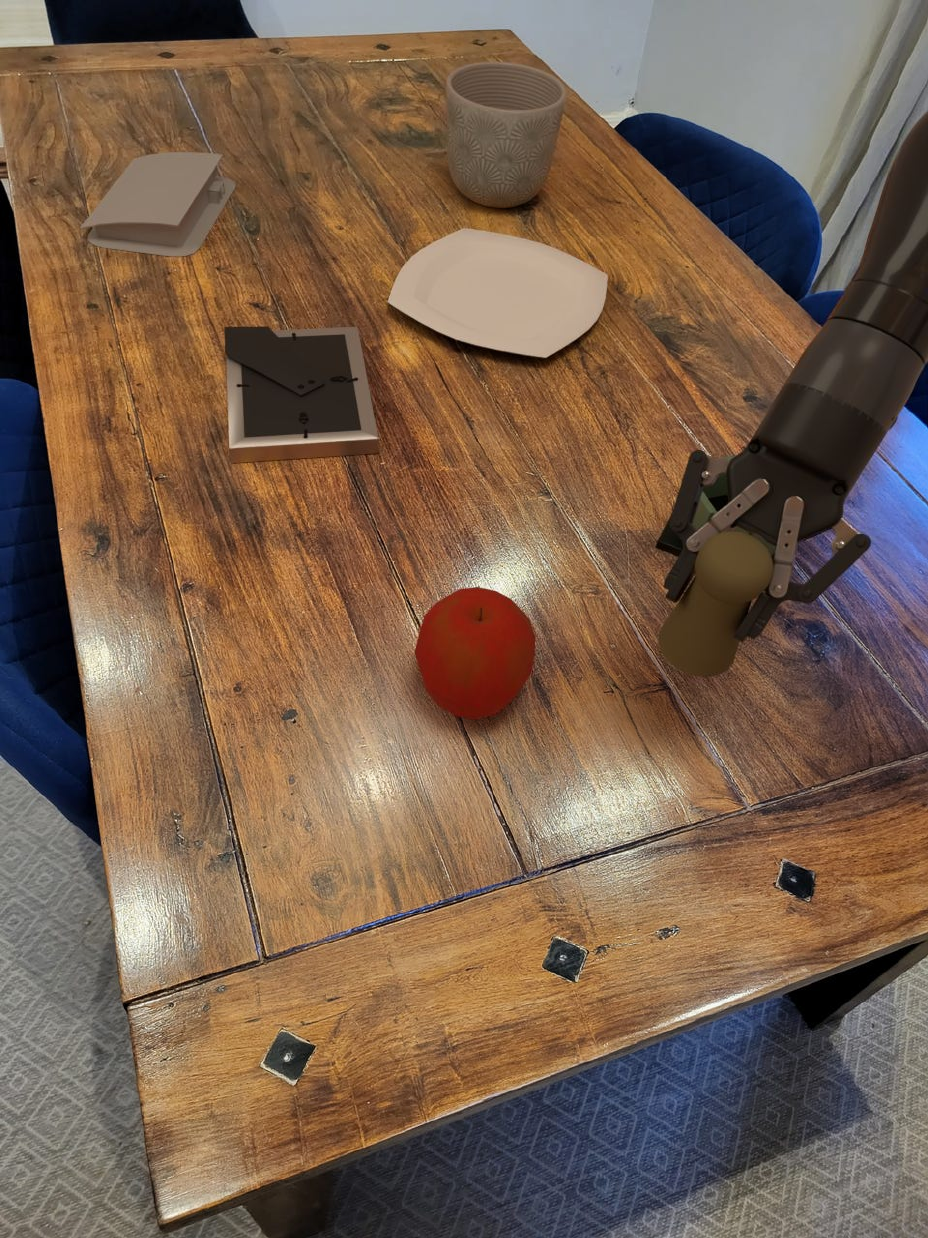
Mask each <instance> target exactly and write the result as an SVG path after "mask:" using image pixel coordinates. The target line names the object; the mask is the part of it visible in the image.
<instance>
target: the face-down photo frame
mask: <svg viewBox="0 0 928 1238" xmlns="http://www.w3.org/2000/svg"><path fill="white" fill-rule="evenodd" d="M224 353H225V363H226V364H225V365H226V366H225V368H226V369H225V370H226V396H227V397H226V398H227V427H228V428H227V429H228V450H229V456H230V461H231V464H242V463H255V462H258V463H259V462H271V461H272V462H273V461H285V460H299V459H301V460H303V459H314V458H315V459H317V458H331V457H344V456H345V457H346V456H358V455H359V456H361V455H373V454H380V438H379V433H378V428H377V421H376V417H375V411H374V406H373V403H372V402H373V401H372V395H371V390H370V385H369V379H368V375H367V368H366V364H365V358H364V353H363V348H362V343H361V337H360V332H359V326H342V327H341V326H340V327H318V328H299V329H298V328H297V329H274V330H273V329H271V328H270V327H269V326H267V325H265V326H263V325H259V326H258V325H257V326H255V325H254V326H224Z"/></svg>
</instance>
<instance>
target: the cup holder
mask: <svg viewBox="0 0 928 1238" xmlns="http://www.w3.org/2000/svg"><path fill="white" fill-rule="evenodd" d="M736 455H737V454H736ZM736 455H731V456H730V455H729V456H723V457H720V458H721V459H725V460H731V459H732V458H733V457H734V456H736ZM728 503H729V501H728V490H727V479H726V475H721V476H719V477H718V478H717V479H716V481H715V483H714V484H713V485H711V486H704V488H703V491H702V494H701V498H700V501H699V504H698V507H697V510H696V514H695V517H694V520H693V523H692V525H693V526H694V528H695V529H696V530H699V529H700V528H701V527H702V526H703V525H705V524H706V523H707V522H708V521H709V520H710V518H711V517H712V516H714V515H715V514H716V513H717V512H718V511H720V510H721V509H722V508H723V507H724V506H726V505H727V504H728ZM671 515H672V513H671V514H670V516H669V518H668V520H667V522H666V524H665V526H664V528H663V529H662V532H661V534H660V536H659V537H658V539H657V542H656V545H655V548H657V549H660V550H662V551H664V552H667V553H670V554H672V555H675V556H677V557H679V555H680V553H681V552H682V550H683V543H682V540H681V539H680V538H679V537H678V536H677V534H676V533H675V532H674V531H673V530H672V529H671V528H670V526H669V522H670V518H671ZM733 531H736V532H742V533H745V534H748V535H751V536H753V537H754V538H756V539H758V540H760V541H761V542H762V543H763V544H764V545H765V546H766V547H767V549H768V551H769V553H770V554H771V557H772V561H773V564H774V557H775V552H776V547H775V546H774V545H772V544H770V543H768V542H767V541H766V540H765V539H764V538H762V537H761V536H760V535H759V534H755V533H751V532H747V531H745V530H744V529H742V528H740V527H737V528H735V529H734V530H733ZM769 584H770V583H769ZM768 586H769V585H768ZM768 586H767V588H768ZM767 588H766V589H767ZM766 589H765V590H764V591H763V592H765V591H766Z"/></svg>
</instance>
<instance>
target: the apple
mask: <svg viewBox="0 0 928 1238" xmlns="http://www.w3.org/2000/svg"><path fill="white" fill-rule="evenodd" d="M414 648H415V649H414V652H413V653H414V656H415V659H416V663H417V666H418V669H419V673H420V677H421V680H422V683H423V687H424V689H425V692H426V694H427V695H428V696H429V697H430V698H431V699H432V701H433V702H434V703H435V704H436V705H437V707H439V708H440V709H442V710H444V711H446V712H447V713H449V714H451V715H452V716H454V717H458V718H464V719H469V720H473V721H475V720H478V719H482V718H486V717H490V716H494V715H496V714H497V713H499V712H500V711H501V710H503V709H504V708H506V707H507V706H508V705H509V704H511V702H512V701H513V700H514V699H515V697H516V696H517V695H518V694H519V693H520V691H521V690H522V688H523V687H524V686H525V684H526V682H527V681H528V680H529V678H530V676H531V675H532V671H533V665H534V661H535V656H536V635H535V631H534V628H533V625H532V623H531V620H530V618H529V617H528V615H526V613H525V612H524V611H523V610H522V609H521V608H520V607H519V605H517V604H516V603H515V602H514V600H513V599H512V598H510V597H509V596H506V595H505V594H503V593H500V592H499V591H497V590H494V589H489V588H484V587H479V586H475V587H465V588H464V587H463V588H459V589H458V590H455V591H454V592H452V593H449V595H447V596H445V597H443V598H442V599H440V600H438V601H436V602H435V604H433V606H432V607H431V608H430V609H429V610H428V611H427V612H426V613H425V614H424V615H423V618H422V622H421V625H420V629H419V632H418V636H417V640H416V645H415V647H414Z"/></svg>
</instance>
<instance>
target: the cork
mask: <svg viewBox="0 0 928 1238" xmlns="http://www.w3.org/2000/svg"><path fill="white" fill-rule="evenodd" d="M773 568H774V567H773V561H772V557H771V554H770V553H769V551H768V549H767V547H766V546H765V545H764V544H763V543H762V542H761V541H760V540H758V539H756V538H754V537H753V536H751V535H748V534H745V533H742V532H736V531H728V532H722V533H720V534H717V535H715V536H713V537H711V538H709V539H708V540H707V541H706V542H705V543H704V544H703V546H702V547H701V548H700V550H699V552H698V555H697V558H696V561H695V575H694V577H693V578H692V580H691V581H690V583H689V585H688V586H687V588H686V590H685V591H684V593H683V595H682V596H681V598H680V599H679V601H678V602H677V603H676V604H675V607H674V608H673V609H672V611H671V612H670V614H669V615H668V617H666V619H665V621H664V623H663V624H662V625H661V628H660V630H659V633H658V647H659V649H660V652H661V653H662V655H663V657H664V658H665V660H666V661H667V662H668V663H669V664H670V665H671V666H672V667H674V668H676V669H677V670H679V671H680V672H681V673H685V674H687V675H689V676H691V677H692V676H693V677H699V678H711V677H716V676H717V677H718V676H720V675H721V674H723V673H725V672H727V671H728V670H730V668H731V667H732V665H733V664H734V662H735V658H736V655H737V652H738V649H739V645H740V643H741V642H740V641H738V640H737V639H735V638H733V637H734V635H735V633H736V632H737V630H738V628H739V627H740V625H741V624H742V622H743V620H744V619H745V617H746V616H747V614H748V612H749V611H750V609H751V606H752V602H753V600H755V599H757V598H758V596H759V595H760V594H761V593H764V592H765V591H764V590H765V589H766V588H767V586H768V585H769V583H770V581H771V577H772V574H773Z"/></svg>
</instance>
